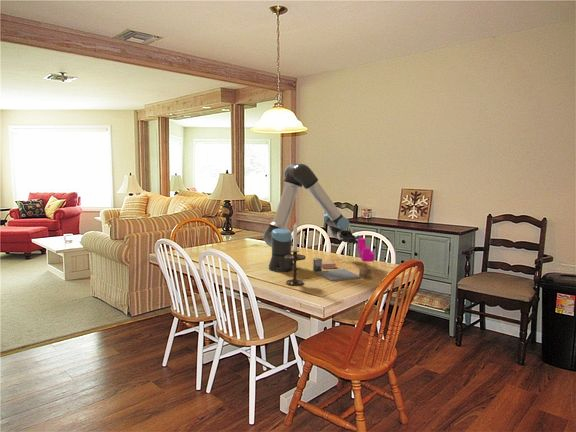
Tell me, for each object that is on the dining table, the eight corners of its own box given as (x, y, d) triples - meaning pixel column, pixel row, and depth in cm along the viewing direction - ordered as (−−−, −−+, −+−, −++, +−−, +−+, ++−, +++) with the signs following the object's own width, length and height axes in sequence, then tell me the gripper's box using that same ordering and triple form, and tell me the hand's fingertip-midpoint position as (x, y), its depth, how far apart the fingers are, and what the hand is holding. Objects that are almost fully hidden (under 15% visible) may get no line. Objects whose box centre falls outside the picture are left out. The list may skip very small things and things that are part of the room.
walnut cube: (363, 278, 228) (363, 269, 227) (359, 276, 233) (359, 267, 232) (371, 278, 229) (371, 269, 229) (367, 275, 234) (367, 267, 234)
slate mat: (331, 281, 222) (331, 279, 222) (316, 273, 239) (316, 271, 238) (360, 278, 229) (360, 276, 229) (344, 270, 245) (344, 268, 245)
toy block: (373, 261, 232) (374, 249, 229) (362, 261, 232) (363, 249, 229) (367, 249, 246) (369, 238, 243) (357, 249, 246) (358, 238, 243)
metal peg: (315, 272, 241) (315, 260, 240) (311, 270, 246) (311, 258, 245) (323, 271, 243) (323, 259, 242) (319, 269, 248) (319, 258, 247)
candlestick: (283, 280, 222) (284, 215, 218) (304, 280, 223) (304, 215, 219) (285, 286, 212) (285, 218, 208) (306, 286, 212) (307, 218, 208)
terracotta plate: (322, 268, 251) (322, 264, 250) (320, 266, 256) (320, 262, 255) (335, 268, 252) (335, 263, 251) (333, 266, 257) (333, 261, 256)
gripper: (354, 241, 267) (371, 249, 244) (335, 241, 263) (350, 250, 241) (354, 229, 266) (371, 236, 243) (335, 230, 262) (351, 237, 240)
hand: (361, 243), depth 242 cm, fingers closed
